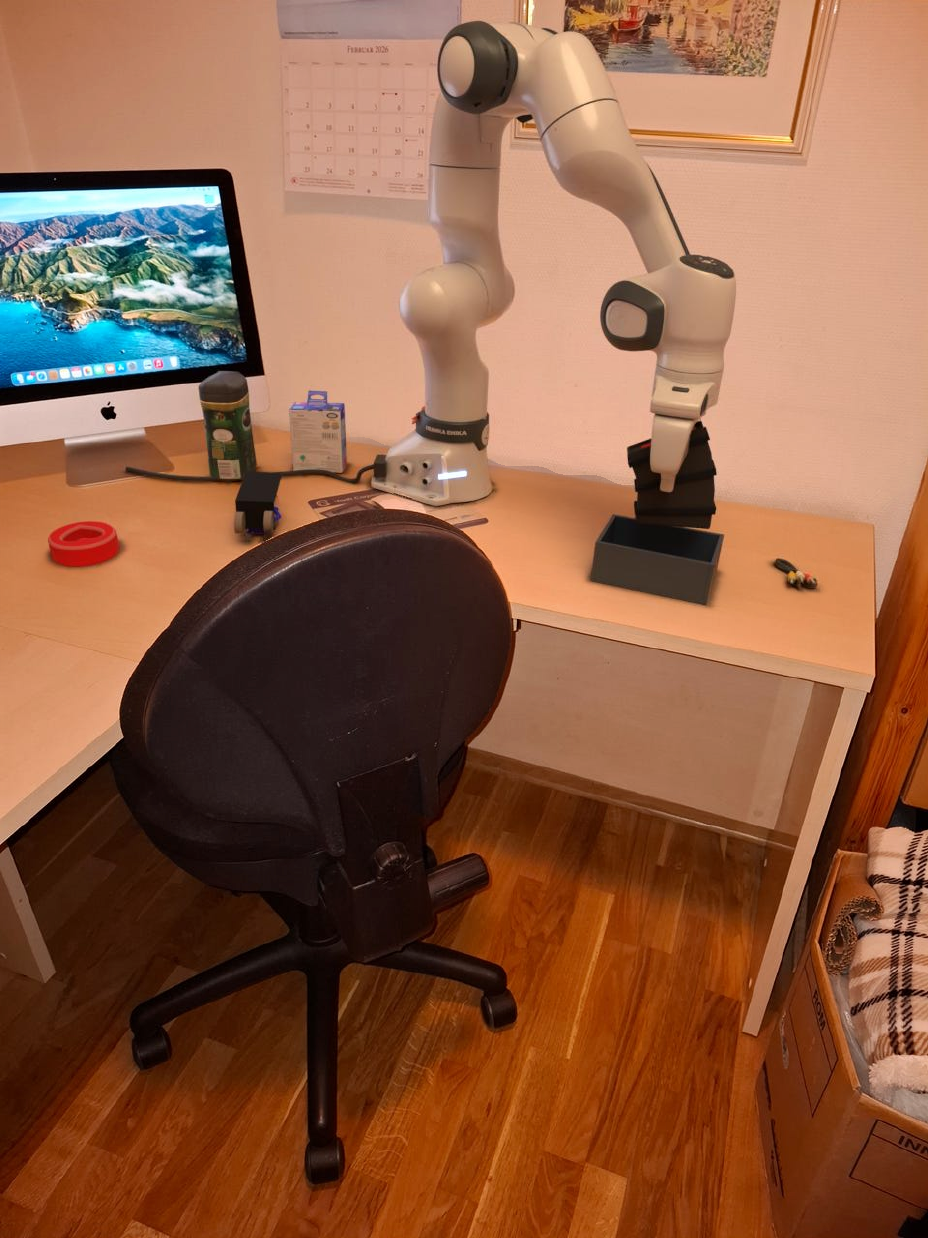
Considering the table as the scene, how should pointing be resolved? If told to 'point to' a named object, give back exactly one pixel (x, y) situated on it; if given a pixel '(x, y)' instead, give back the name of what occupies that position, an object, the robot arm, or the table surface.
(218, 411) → the coffee jar
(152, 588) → the table surface
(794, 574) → the composite cable
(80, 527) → the decorative ornament
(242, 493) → the toy wheeled vehicle
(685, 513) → the magazine
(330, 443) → the ink cartridge box
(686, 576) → the box
